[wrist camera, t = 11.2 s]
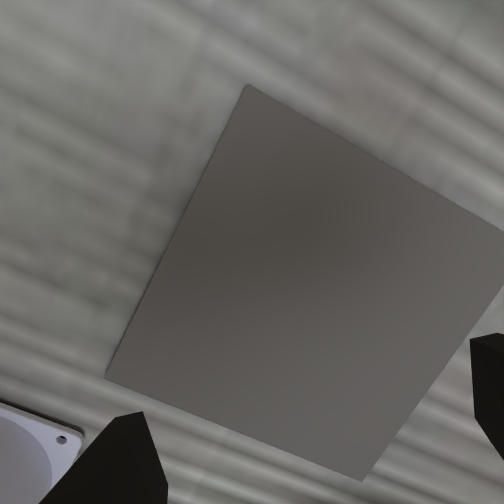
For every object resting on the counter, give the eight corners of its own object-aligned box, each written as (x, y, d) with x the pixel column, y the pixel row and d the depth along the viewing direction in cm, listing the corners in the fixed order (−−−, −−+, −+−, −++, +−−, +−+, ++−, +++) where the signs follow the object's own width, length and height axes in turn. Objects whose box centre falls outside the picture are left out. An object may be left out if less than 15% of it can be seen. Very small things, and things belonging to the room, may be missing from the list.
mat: (105, 373, 20) (103, 378, 19) (247, 85, 16) (247, 83, 16) (359, 476, 22) (361, 481, 22) (524, 245, 19) (530, 247, 19)
